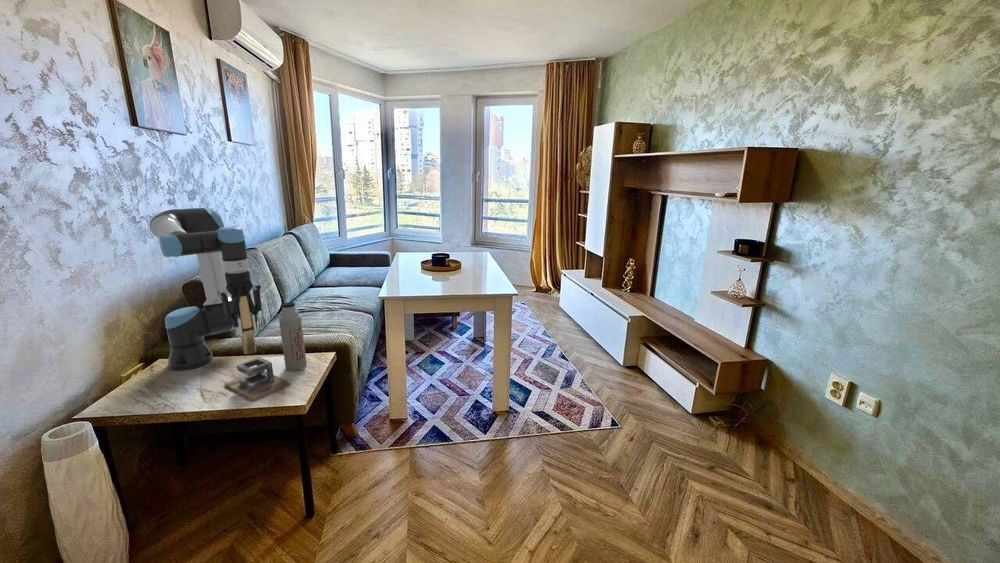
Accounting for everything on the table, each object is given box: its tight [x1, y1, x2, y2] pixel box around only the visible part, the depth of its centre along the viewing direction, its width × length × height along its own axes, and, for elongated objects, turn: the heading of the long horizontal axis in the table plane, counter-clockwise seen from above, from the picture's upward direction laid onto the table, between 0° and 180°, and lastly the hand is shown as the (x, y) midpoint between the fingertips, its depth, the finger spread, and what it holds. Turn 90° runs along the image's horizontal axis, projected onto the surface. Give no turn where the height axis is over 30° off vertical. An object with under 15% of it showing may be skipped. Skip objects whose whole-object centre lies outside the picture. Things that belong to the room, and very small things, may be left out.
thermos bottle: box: [278, 301, 308, 372], centre depth 167 cm, size 8×8×28 cm
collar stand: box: [224, 356, 291, 402], centre depth 155 cm, size 20×14×9 cm
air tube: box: [238, 295, 257, 355], centre depth 149 cm, size 4×4×22 cm
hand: (247, 332), depth 150 cm, fingers closed on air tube, 4 cm apart
